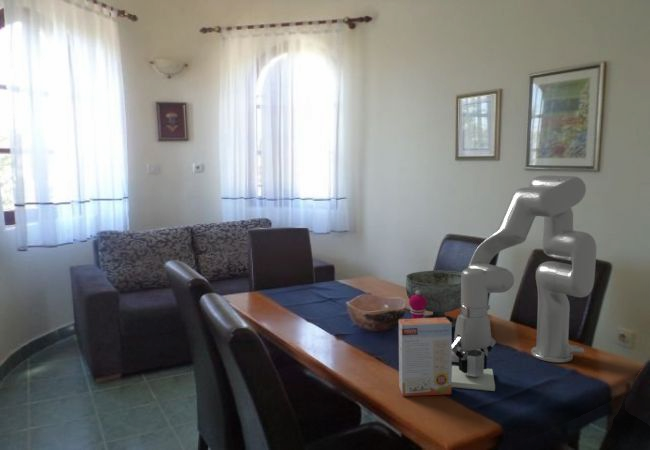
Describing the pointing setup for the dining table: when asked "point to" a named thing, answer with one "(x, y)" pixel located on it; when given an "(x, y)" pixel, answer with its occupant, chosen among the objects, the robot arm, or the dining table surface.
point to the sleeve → (475, 363)
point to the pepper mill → (417, 305)
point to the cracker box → (425, 356)
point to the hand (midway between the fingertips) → (472, 369)
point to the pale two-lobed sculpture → (455, 357)
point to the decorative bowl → (437, 291)
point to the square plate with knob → (473, 380)
